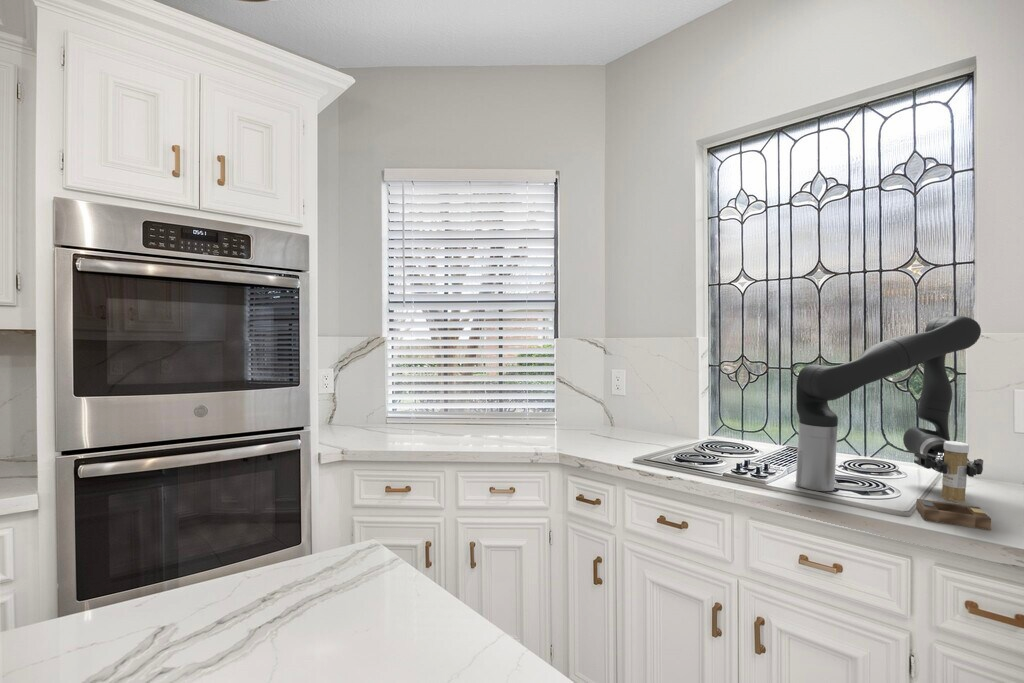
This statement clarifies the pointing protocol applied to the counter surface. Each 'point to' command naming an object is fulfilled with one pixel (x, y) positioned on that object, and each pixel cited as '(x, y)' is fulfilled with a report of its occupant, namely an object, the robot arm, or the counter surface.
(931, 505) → the slate tag
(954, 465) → the sprinkles bottle
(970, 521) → the socket block
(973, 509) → the brass tag
